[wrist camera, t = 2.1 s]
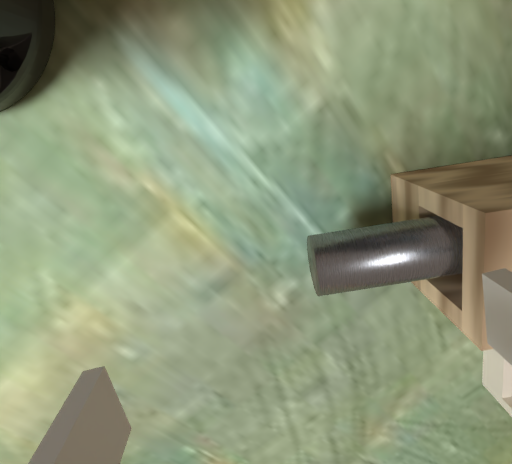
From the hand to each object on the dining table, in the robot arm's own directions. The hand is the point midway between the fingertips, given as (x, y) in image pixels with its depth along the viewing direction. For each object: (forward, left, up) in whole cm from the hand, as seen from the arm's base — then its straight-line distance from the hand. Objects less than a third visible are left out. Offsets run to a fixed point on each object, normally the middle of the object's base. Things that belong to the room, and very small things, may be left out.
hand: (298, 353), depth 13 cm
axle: (+15, -2, -14) cm, 21 cm away
